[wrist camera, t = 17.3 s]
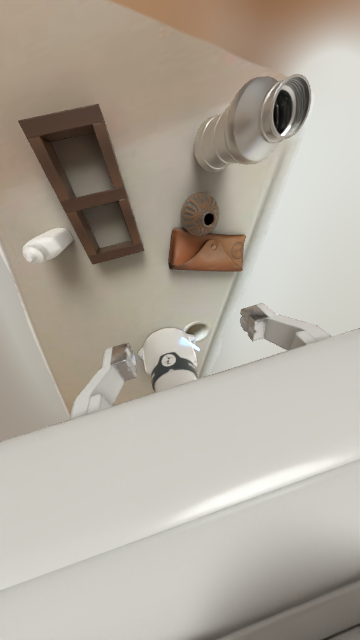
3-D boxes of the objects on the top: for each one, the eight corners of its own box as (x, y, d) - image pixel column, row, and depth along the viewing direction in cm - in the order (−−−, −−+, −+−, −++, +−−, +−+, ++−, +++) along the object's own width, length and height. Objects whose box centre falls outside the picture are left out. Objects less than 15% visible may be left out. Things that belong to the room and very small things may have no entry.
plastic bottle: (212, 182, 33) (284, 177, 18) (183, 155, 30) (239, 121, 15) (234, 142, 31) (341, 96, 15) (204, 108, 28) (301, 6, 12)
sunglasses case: (248, 232, 40) (257, 255, 38) (233, 255, 46) (240, 275, 44) (170, 226, 36) (174, 251, 33) (166, 252, 42) (169, 275, 40)
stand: (143, 245, 37) (144, 250, 34) (95, 258, 37) (92, 264, 34) (102, 113, 26) (98, 103, 22) (31, 128, 25) (17, 120, 22)
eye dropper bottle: (36, 223, 31) (-4, 238, 22) (72, 228, 33) (49, 245, 24) (42, 248, 34) (9, 272, 24) (75, 252, 35) (56, 276, 26)
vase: (174, 229, 37) (185, 238, 30) (181, 188, 33) (194, 189, 26) (205, 234, 39) (221, 244, 32) (214, 196, 35) (234, 199, 28)
